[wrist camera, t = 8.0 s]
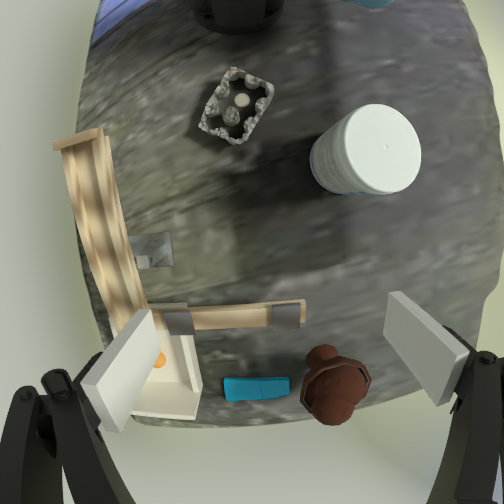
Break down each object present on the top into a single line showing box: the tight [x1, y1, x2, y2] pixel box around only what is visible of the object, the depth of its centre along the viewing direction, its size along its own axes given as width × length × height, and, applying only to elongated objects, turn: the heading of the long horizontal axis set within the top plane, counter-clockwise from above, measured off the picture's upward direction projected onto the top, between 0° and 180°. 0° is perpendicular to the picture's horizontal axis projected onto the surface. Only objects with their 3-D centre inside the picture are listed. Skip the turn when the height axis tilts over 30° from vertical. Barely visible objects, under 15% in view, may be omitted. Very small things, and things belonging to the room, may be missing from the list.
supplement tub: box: [310, 104, 421, 195], centre depth 30 cm, size 10×10×15 cm
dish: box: [108, 302, 203, 420], centre depth 39 cm, size 17×13×9 cm
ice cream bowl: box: [300, 344, 372, 426], centre depth 37 cm, size 11×11×15 cm
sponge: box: [223, 377, 290, 401], centre depth 45 cm, size 2×12×6 cm
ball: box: [153, 352, 166, 368], centre depth 42 cm, size 3×3×3 cm
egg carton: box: [198, 66, 274, 145], centre depth 34 cm, size 11×8×4 cm
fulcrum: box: [89, 232, 175, 272], centre depth 36 cm, size 5×11×8 cm, turn 94°
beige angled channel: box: [53, 128, 306, 335], centre depth 29 cm, size 28×26×4 cm
